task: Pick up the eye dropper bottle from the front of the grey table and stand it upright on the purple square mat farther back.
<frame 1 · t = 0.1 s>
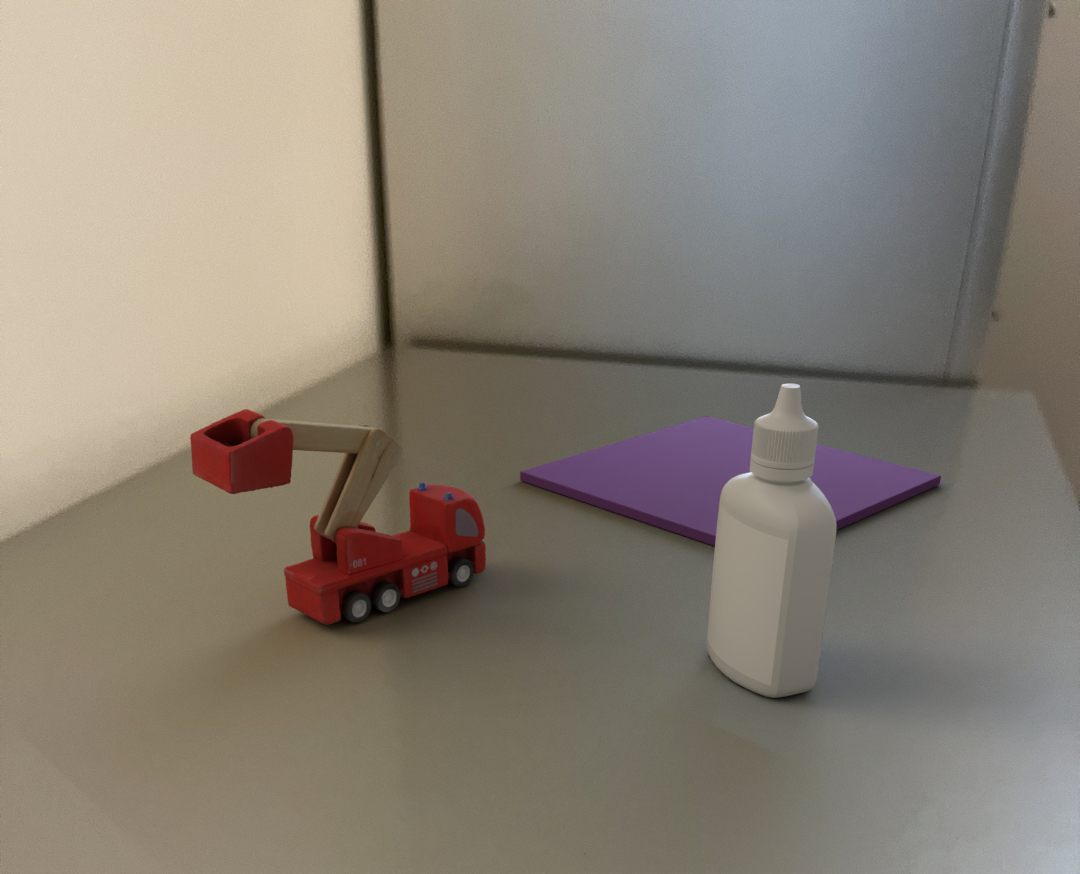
eye dropper bottle: (758, 674, 51), on the worktop
toy fire truck: (362, 608, 56), on the worktop
purple square mat: (729, 482, 72), on the worktop
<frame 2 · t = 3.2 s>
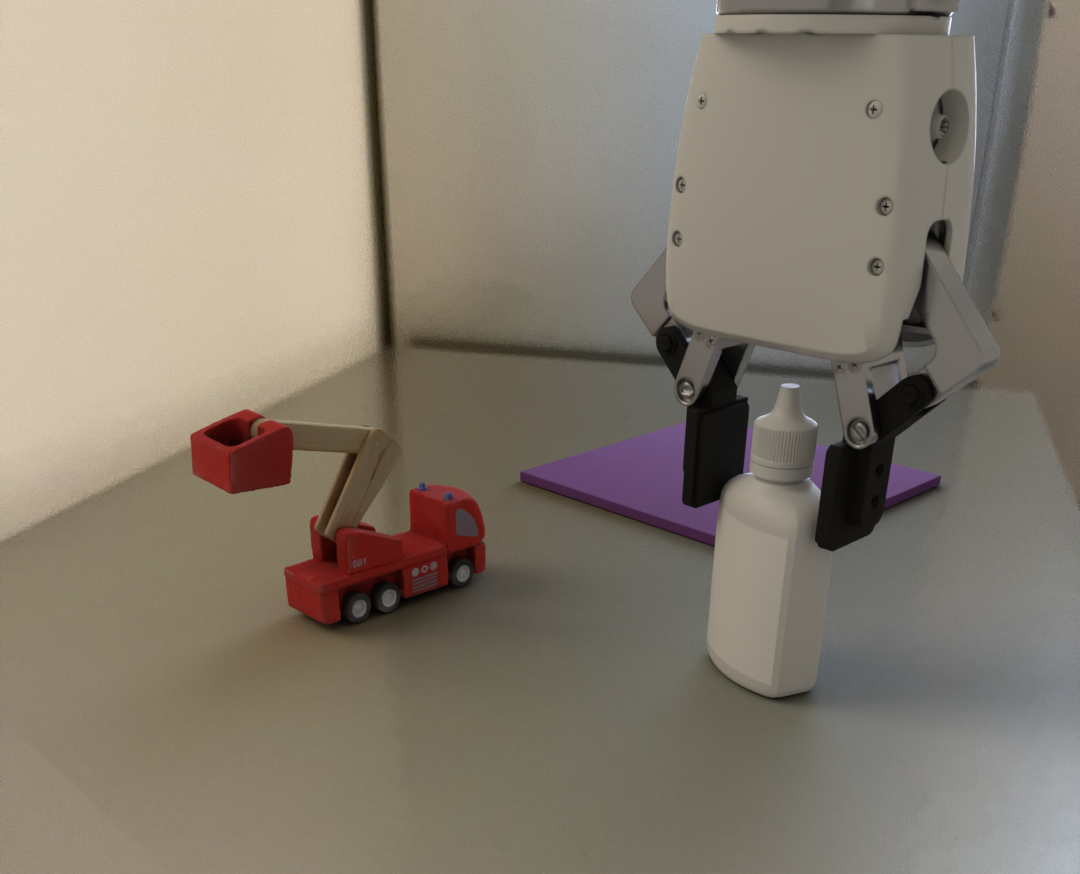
hand: (775, 515, 47), 7 cm above the worktop, tool pointing down, fingers closed on eye dropper bottle, 5 cm apart
eye dropper bottle: (758, 674, 51), on the worktop, touching gripper
everything else where it was.
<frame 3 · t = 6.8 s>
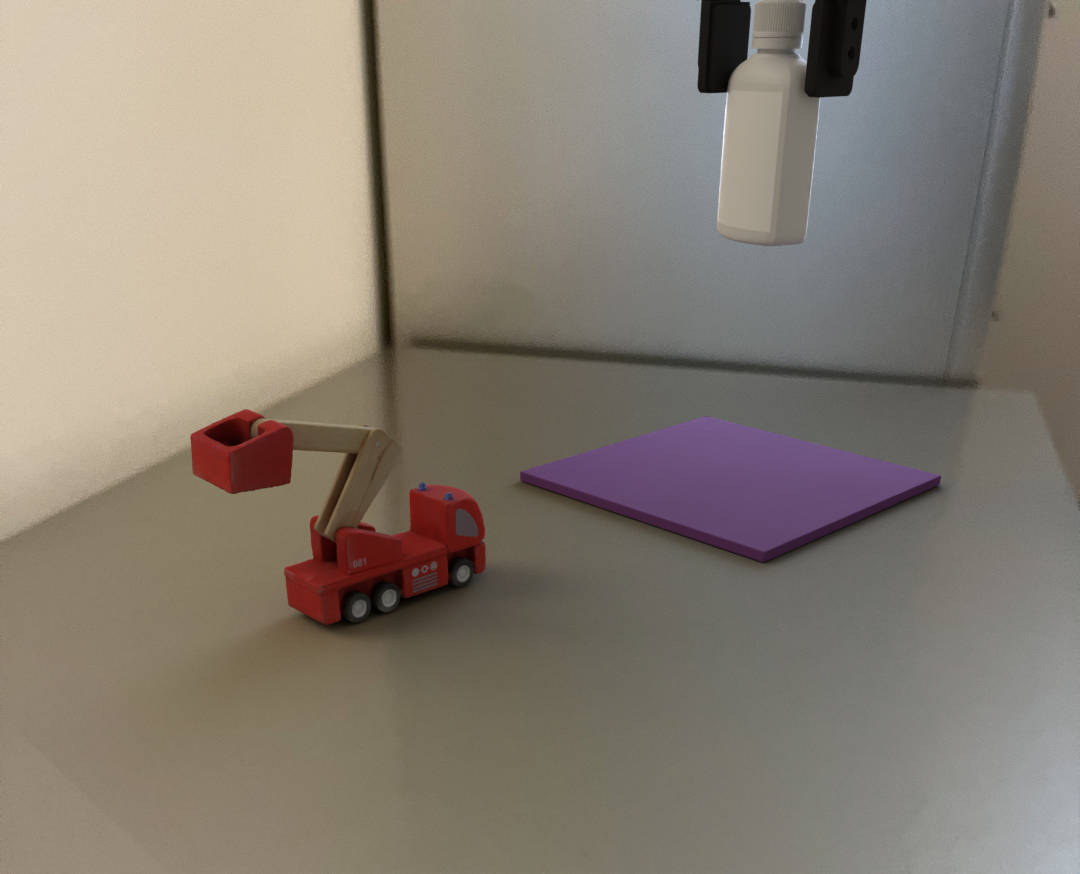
hand: (773, 90, 59), 21 cm above the worktop, tool pointing down, fingers closed on eye dropper bottle, 5 cm apart
eye dropper bottle: (759, 243, 62), point 14 cm above the worktop, touching gripper
everything else where it was.
when the fingers open (8 cm above the worktop, at t = 10.5 s): eye dropper bottle stays where it is, resting on purple square mat.
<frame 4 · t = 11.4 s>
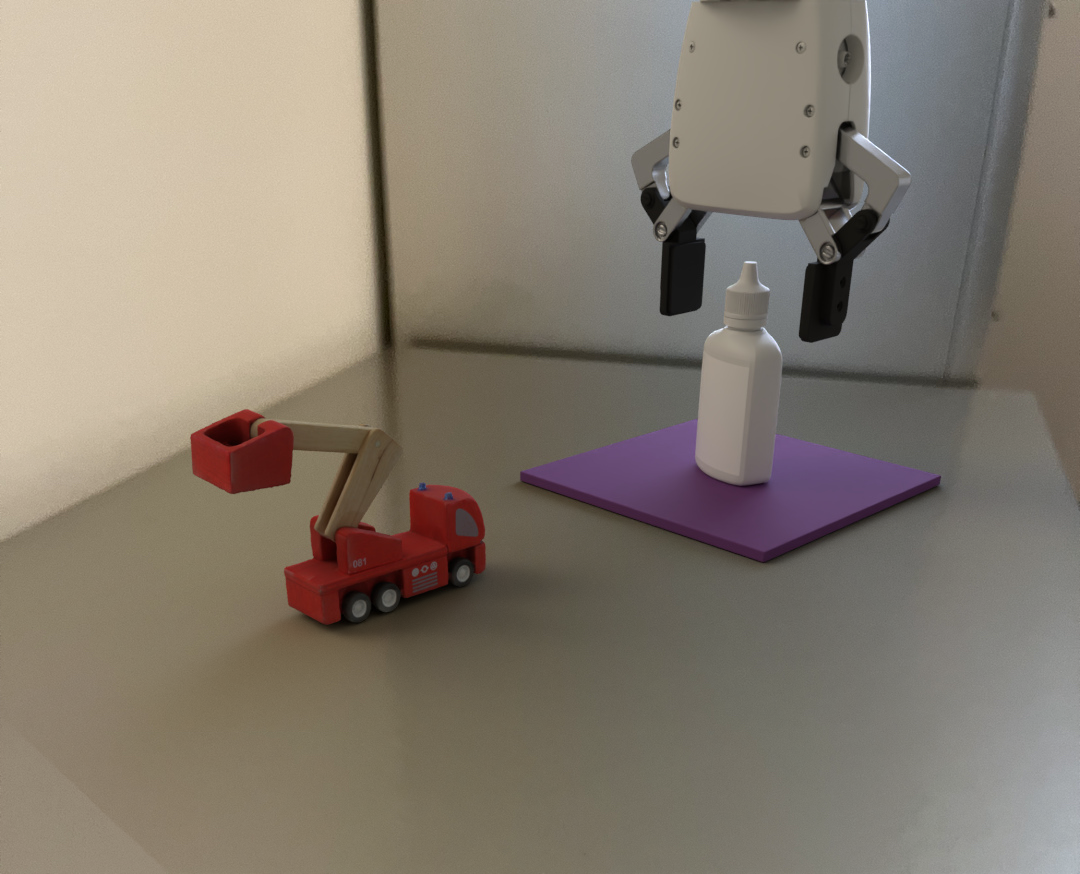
hand: (747, 324, 67), 9 cm above the worktop, tool pointing down, fingers open, 9 cm apart
eye dropper bottle: (731, 476, 72), resting on purple square mat
everything else where it was.
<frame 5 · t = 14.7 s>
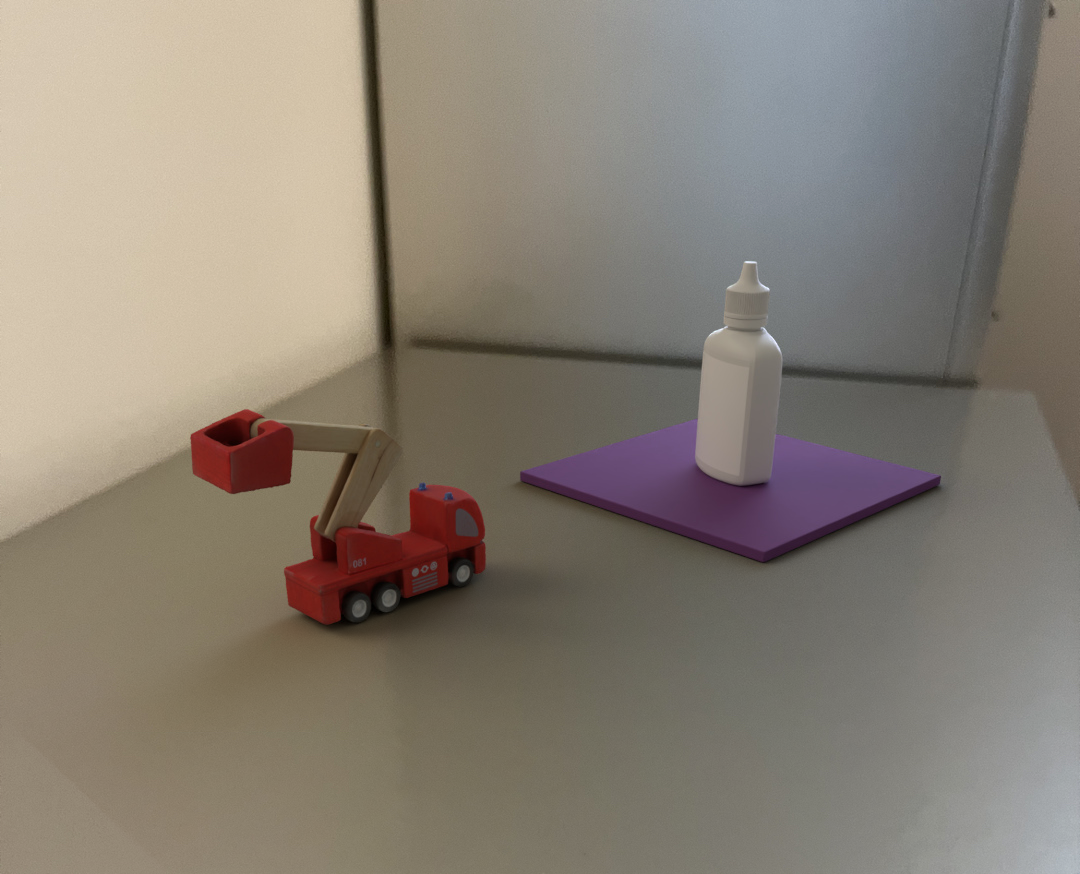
nothing on the worktop moved.
at the end: eye dropper bottle inside the target area on the purple square mat (0.1 cm from its centre), point 0.4 cm above the purple square mat's base; eye dropper bottle tilted 0°; the gripper is holding nothing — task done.
